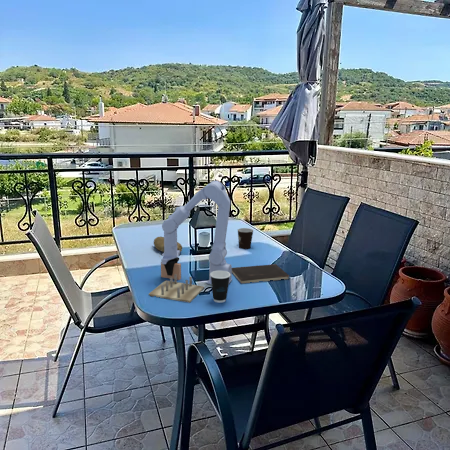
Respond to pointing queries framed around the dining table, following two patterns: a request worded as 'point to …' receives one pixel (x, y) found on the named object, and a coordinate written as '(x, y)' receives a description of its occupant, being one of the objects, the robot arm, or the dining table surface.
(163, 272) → the brown rectangular block
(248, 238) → the coffee mug
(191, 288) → the dish rack
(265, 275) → the hardcover book
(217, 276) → the dixie cup
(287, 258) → the dining table surface
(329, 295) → the dining table surface
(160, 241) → the sponge
